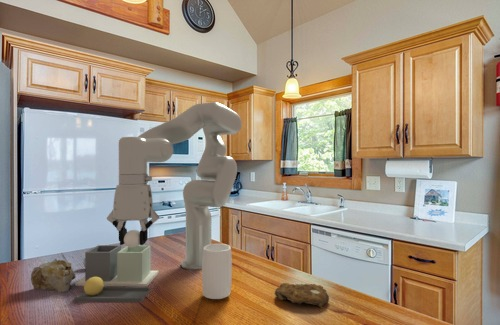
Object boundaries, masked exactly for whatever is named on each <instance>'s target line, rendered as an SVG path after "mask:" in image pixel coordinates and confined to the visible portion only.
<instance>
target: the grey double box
mask: <svg viewBox="0 0 500 325" xmlns="http://www.w3.org/2000/svg"><path fill="white" fill-rule="evenodd" d="M151 248H152V247H151V245H139V246H137V247H134V248H130V247H128V246H126V245H125V247H123V248H122V245H120V244H119V245H118V244H117V245H115V244H114V245H111V244H109V245H108V244H107V245H106V244H105V245H104V244H103V245H99V244H97V245H96V246H94V247H92V248H91V249H89V250H87V251H85V254H84V258H85V267H84V270H85V271H84V272H85V273H84V274H85V275H84V277H82V278H81V279H79V280H78V281H76V282H75V284H74V285H75V286H76V287H77V286H79V287H84V285H85V283H86V281H87V280H88V279H90V278H92V277H99V278H101V279H102V280H103V282H104V287H149V285H150V284H151V282H152V281H153V280H154V279H155V278H156V277H157V275H158V274H159V270H151V264H152V263H151V256H152V255H151V252H152V251H151V250H152V249H151ZM75 286H74V287H75Z"/></svg>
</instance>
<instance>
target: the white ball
mask: <svg viewBox="0 0 500 325" xmlns="http://www.w3.org/2000/svg"><path fill="white" fill-rule="evenodd" d="M124 243H125V244H124V245H125V247H126V246H128V247H130V248H134V247H137V246H141V245H140V230H137V229H131V230H127V233H126V234H125V236H124Z"/></svg>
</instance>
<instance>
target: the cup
mask: <svg viewBox="0 0 500 325" xmlns="http://www.w3.org/2000/svg"><path fill="white" fill-rule="evenodd" d="M232 257H233V256H232V247H231V246H230V245H229V244H226V243H211V244H210V245H207V246H205V247H204V248H203V258H202V270H201V279H202V280H201V281H202V282H201V283H202V295H203V296H204V297H205V298H207V299H211V300H221V299H225V298H227V297H228V296H230V294H231V290H232V276H233V275H232V272H233V271H232V269H233V268H232V267H233V262H232V261H233V260H232Z"/></svg>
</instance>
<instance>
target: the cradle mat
mask: <svg viewBox="0 0 500 325" xmlns="http://www.w3.org/2000/svg"><path fill="white" fill-rule="evenodd" d="M151 291H152V288H150V287H149V286H104V287H103V289H102V291H101V292H100V293H99V294H97V295H94V296H90V295H87V294H86V293H85V291H84V290H83V292H82V293H80V294H79V295H78V296H74V298H73V300H71V301H70V302H72V303H73V302H74V303H75V302H79V303H80V302H81V303H83V302H84V303H85V302H86V303H87V302H88V303H89V302H91V303H92V302H93V303H142V302H143V301H144V299H145V298H146V297H147V296H148V294H149V293H150V292H151Z"/></svg>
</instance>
